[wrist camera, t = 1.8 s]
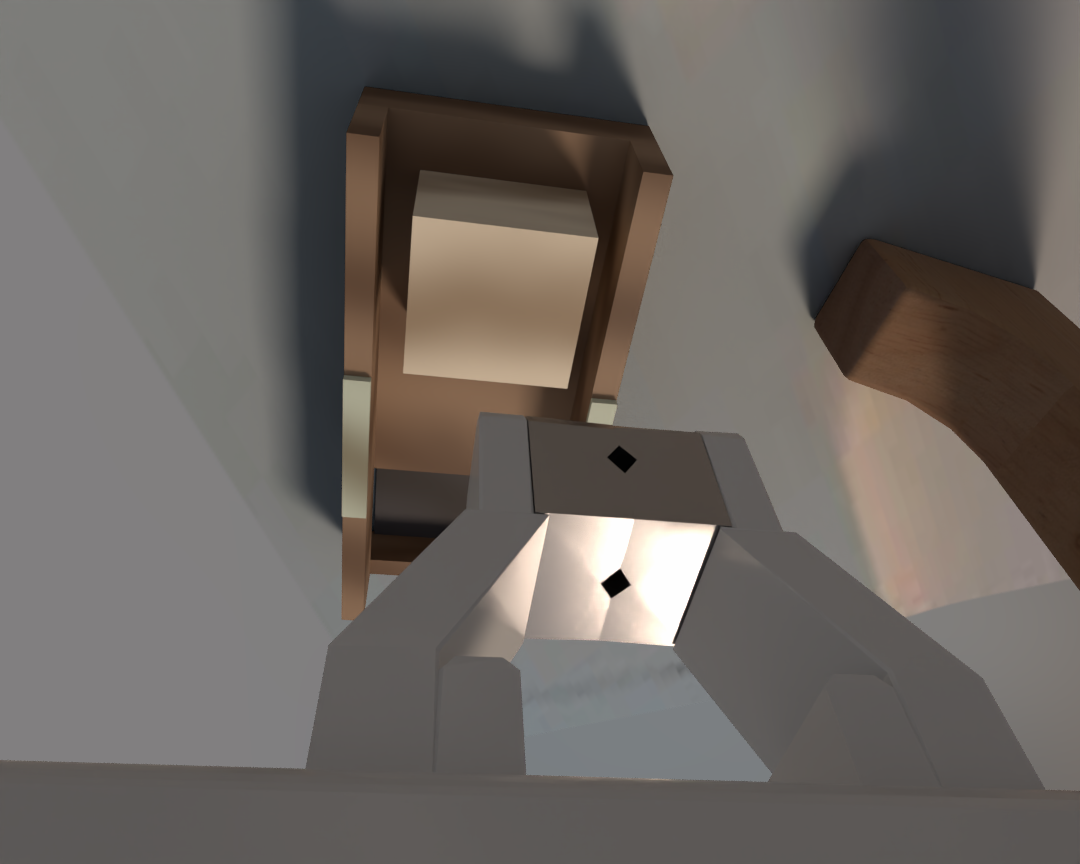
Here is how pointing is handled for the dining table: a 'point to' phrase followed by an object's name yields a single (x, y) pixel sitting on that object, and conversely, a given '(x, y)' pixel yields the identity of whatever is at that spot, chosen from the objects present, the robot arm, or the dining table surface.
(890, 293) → the wooden block
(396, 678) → the robot arm
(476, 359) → the birch block
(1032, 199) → the dining table surface
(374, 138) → the walled channel
